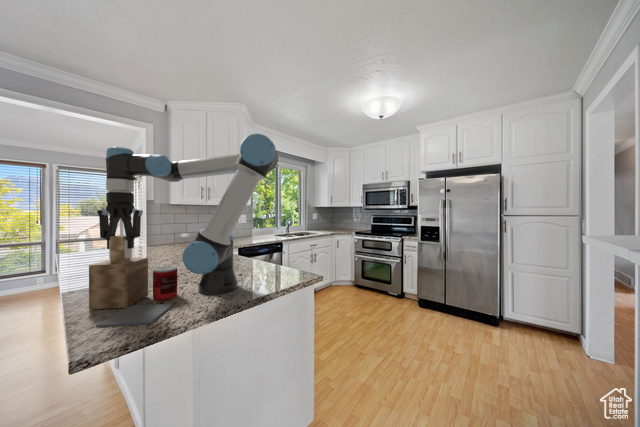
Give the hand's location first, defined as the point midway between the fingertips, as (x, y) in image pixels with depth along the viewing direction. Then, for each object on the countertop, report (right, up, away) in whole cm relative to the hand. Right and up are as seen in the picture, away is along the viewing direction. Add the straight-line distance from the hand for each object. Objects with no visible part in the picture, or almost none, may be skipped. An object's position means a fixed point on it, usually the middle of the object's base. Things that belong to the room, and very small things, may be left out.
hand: (120, 257), depth 85 cm
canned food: (+12, -16, +6) cm, 21 cm away
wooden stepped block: (0, -16, 0) cm, 16 cm away
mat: (+14, -16, -10) cm, 24 cm away
